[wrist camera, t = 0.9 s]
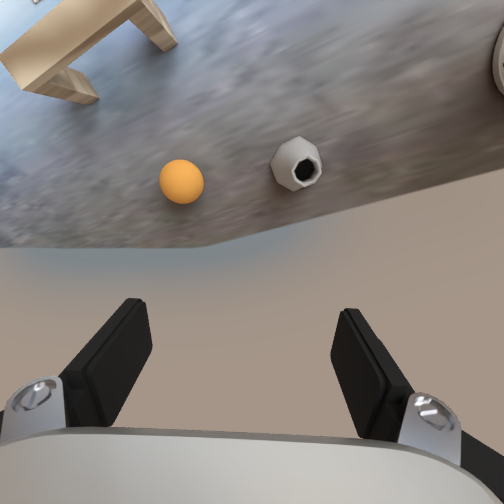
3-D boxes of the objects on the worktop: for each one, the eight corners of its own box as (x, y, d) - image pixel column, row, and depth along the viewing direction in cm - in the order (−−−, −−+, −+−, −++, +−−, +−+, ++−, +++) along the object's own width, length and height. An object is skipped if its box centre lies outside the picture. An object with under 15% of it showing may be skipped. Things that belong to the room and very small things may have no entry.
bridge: (73, 81, 31) (-3, 56, 22) (164, 14, 28) (116, -46, 19) (88, 105, 32) (21, 89, 24) (177, 43, 29) (138, -2, 20)
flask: (291, 199, 36) (300, 217, 27) (260, 163, 34) (258, 169, 25) (330, 166, 34) (354, 173, 25) (300, 125, 32) (313, 116, 23)
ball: (194, 151, 34) (181, 152, 29) (214, 189, 36) (205, 196, 31) (161, 169, 35) (142, 173, 30) (182, 205, 37) (168, 215, 32)
